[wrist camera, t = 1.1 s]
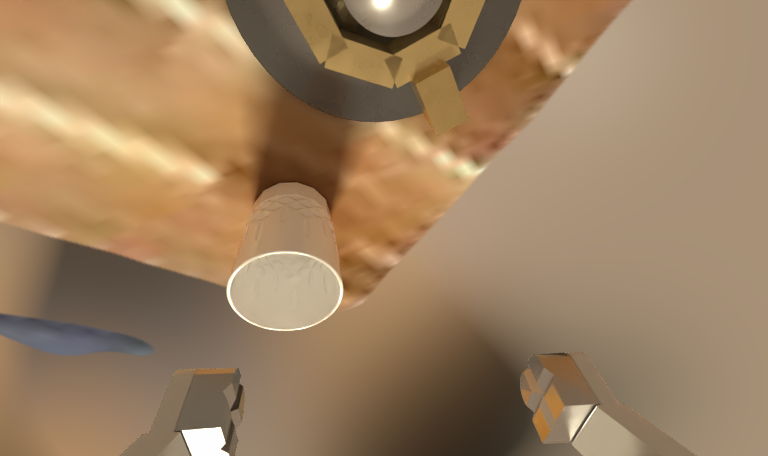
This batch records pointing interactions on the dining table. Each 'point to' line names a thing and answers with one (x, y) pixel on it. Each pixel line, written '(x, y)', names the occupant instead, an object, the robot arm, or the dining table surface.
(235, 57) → the dining table surface
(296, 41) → the hub plate
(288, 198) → the white cup
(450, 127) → the ring nut
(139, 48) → the dining table surface
